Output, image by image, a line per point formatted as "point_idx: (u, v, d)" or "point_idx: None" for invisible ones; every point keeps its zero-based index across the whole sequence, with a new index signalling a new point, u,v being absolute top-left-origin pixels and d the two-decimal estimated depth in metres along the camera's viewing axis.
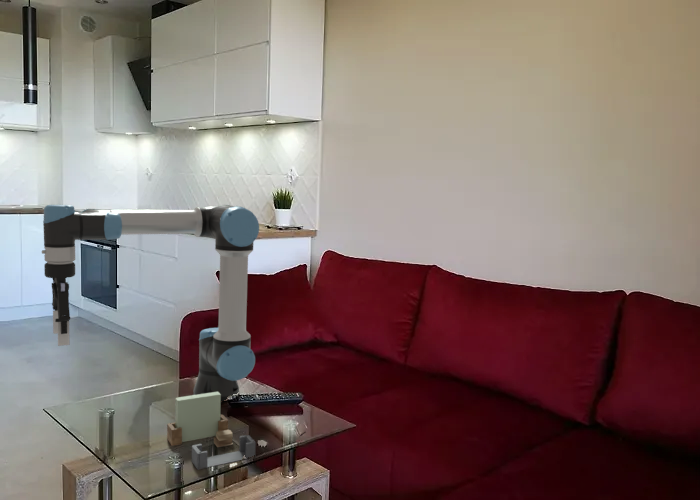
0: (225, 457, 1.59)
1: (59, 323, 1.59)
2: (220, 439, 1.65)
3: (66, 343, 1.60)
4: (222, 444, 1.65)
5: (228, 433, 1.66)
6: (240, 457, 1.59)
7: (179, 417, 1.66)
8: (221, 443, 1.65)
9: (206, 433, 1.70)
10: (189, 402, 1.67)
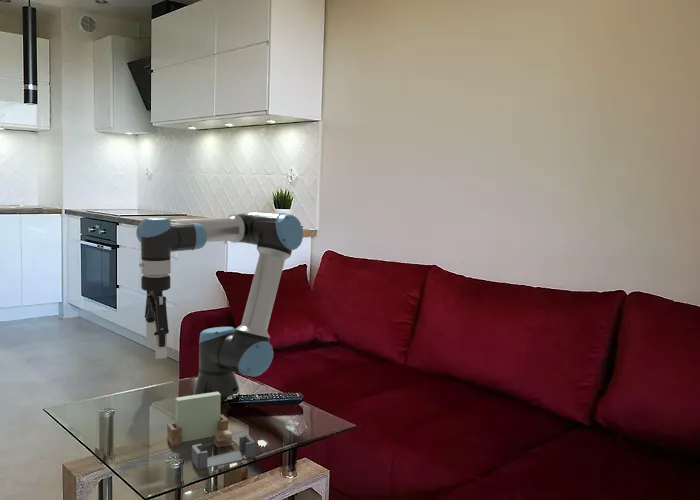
0: (225, 457, 1.59)
1: (157, 336, 1.60)
2: (219, 439, 1.65)
3: (163, 356, 1.61)
4: (222, 444, 1.65)
5: (227, 433, 1.66)
6: (240, 457, 1.59)
7: (179, 417, 1.66)
8: (221, 443, 1.65)
9: (206, 433, 1.70)
10: (189, 402, 1.67)
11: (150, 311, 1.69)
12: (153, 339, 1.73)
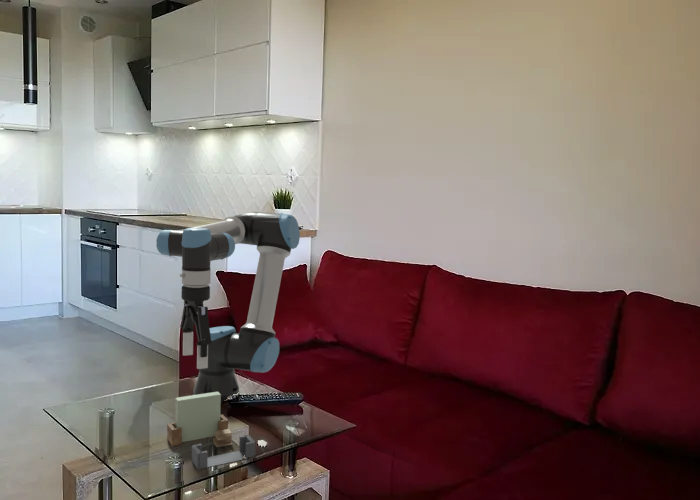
0: (225, 457, 1.59)
1: (199, 346, 1.60)
2: (219, 438, 1.65)
3: (205, 366, 1.61)
4: (221, 443, 1.65)
5: (227, 432, 1.66)
6: (240, 457, 1.59)
7: (179, 417, 1.66)
8: (220, 443, 1.65)
9: (206, 433, 1.70)
10: (189, 402, 1.67)
11: (188, 321, 1.69)
12: (189, 349, 1.73)
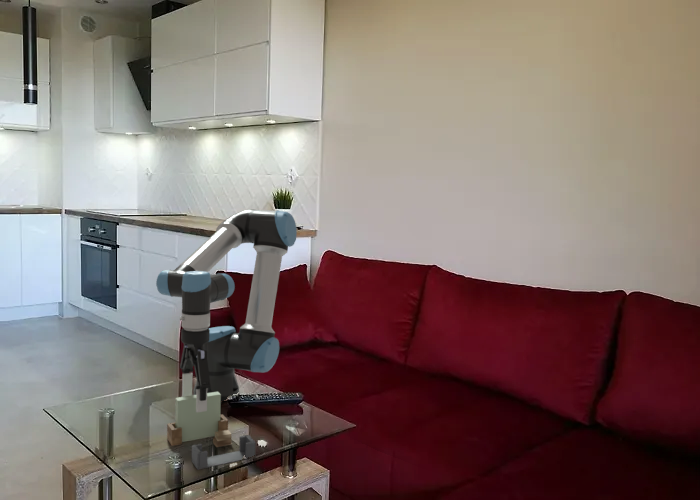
0: (225, 457, 1.59)
1: (198, 390, 1.61)
2: (219, 439, 1.65)
3: (204, 409, 1.62)
4: (221, 444, 1.65)
5: (227, 433, 1.66)
6: (240, 457, 1.59)
7: (179, 417, 1.66)
8: (220, 444, 1.65)
9: (206, 433, 1.70)
10: (189, 402, 1.67)
11: (187, 363, 1.71)
12: (189, 390, 1.74)
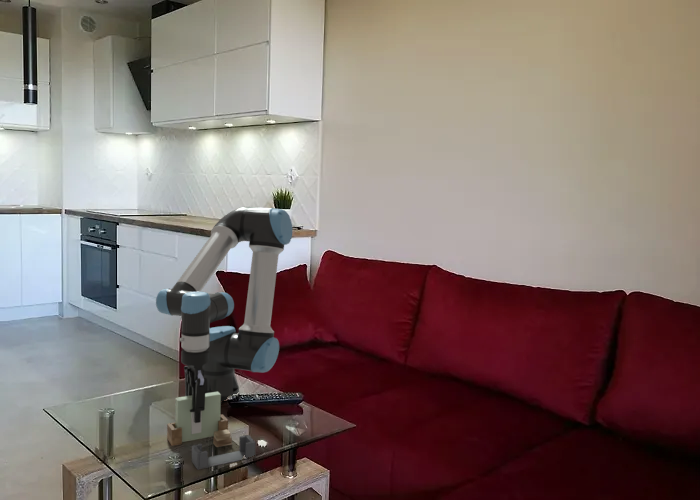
0: (225, 457, 1.59)
1: (193, 412, 1.67)
2: (218, 439, 1.65)
3: (198, 431, 1.68)
4: (222, 444, 1.65)
5: (226, 433, 1.66)
6: (240, 457, 1.59)
7: (179, 417, 1.66)
8: (221, 443, 1.65)
9: (206, 433, 1.70)
10: (189, 402, 1.67)
11: (190, 389, 1.69)
12: None
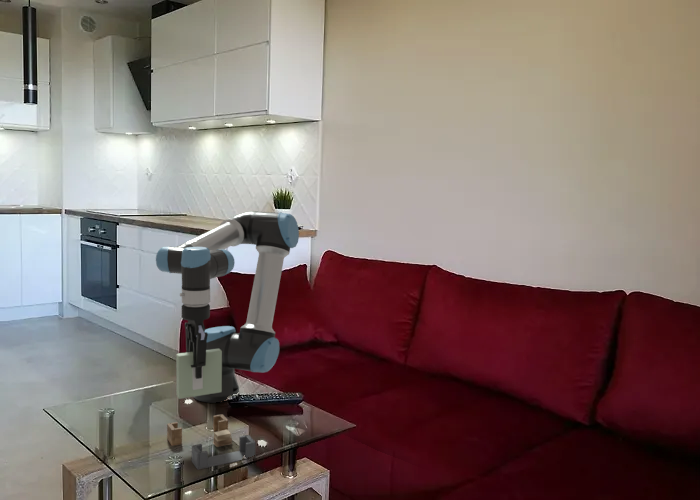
0: (225, 457, 1.59)
1: (194, 368, 1.66)
2: (219, 439, 1.65)
3: (200, 387, 1.67)
4: (222, 444, 1.66)
5: (226, 433, 1.66)
6: (240, 457, 1.59)
7: (180, 373, 1.65)
8: (221, 443, 1.65)
9: (207, 389, 1.69)
10: (189, 358, 1.65)
11: (191, 345, 1.68)
12: None
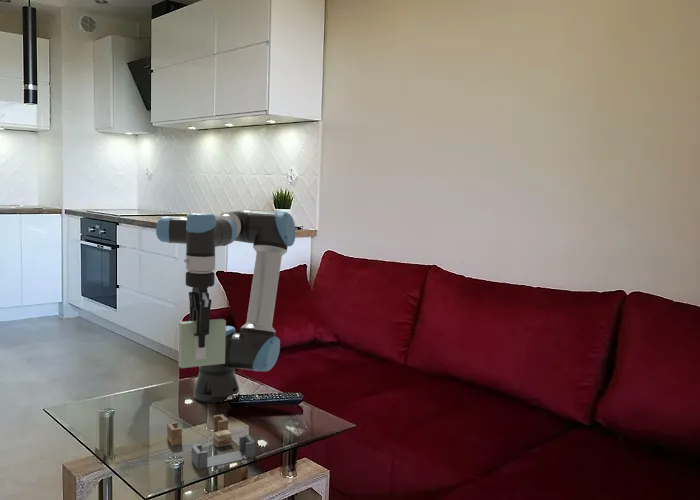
0: (225, 457, 1.59)
1: (197, 337, 1.62)
2: (219, 439, 1.65)
3: (203, 357, 1.63)
4: (222, 444, 1.65)
5: (226, 433, 1.66)
6: (240, 457, 1.59)
7: (183, 341, 1.61)
8: (221, 443, 1.65)
9: (210, 360, 1.65)
10: (193, 326, 1.62)
11: (195, 314, 1.64)
12: None
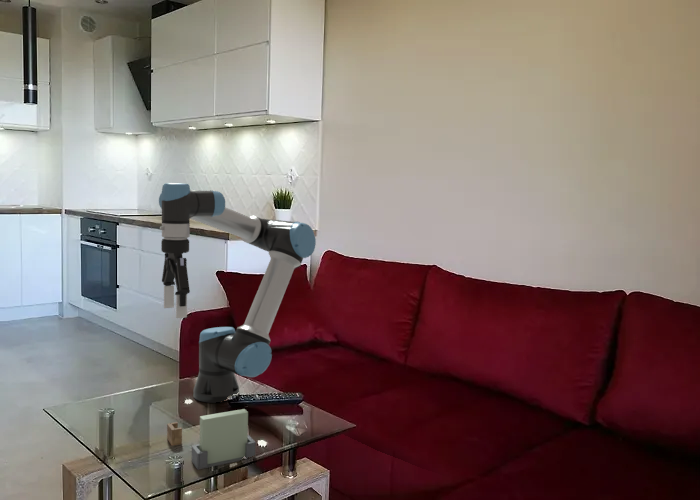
0: None
1: (178, 296, 1.66)
2: None
3: (184, 315, 1.67)
4: None
5: None
6: (240, 457, 1.59)
7: (204, 437, 1.53)
8: None
9: (232, 454, 1.58)
10: (214, 421, 1.54)
11: (168, 274, 1.75)
12: (170, 302, 1.79)
